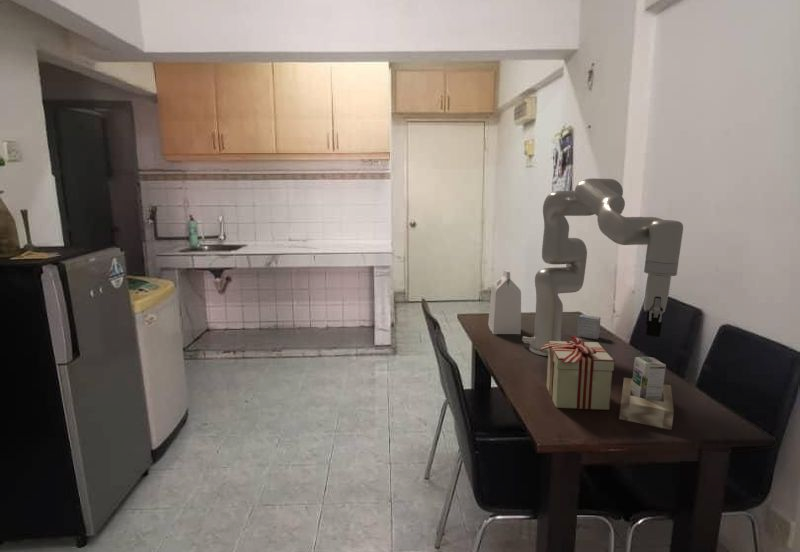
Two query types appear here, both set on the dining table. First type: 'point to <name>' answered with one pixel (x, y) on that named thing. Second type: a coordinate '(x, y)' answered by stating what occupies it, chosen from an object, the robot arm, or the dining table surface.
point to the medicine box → (588, 326)
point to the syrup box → (648, 378)
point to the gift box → (579, 374)
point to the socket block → (647, 407)
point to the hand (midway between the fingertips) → (652, 330)
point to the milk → (505, 306)
